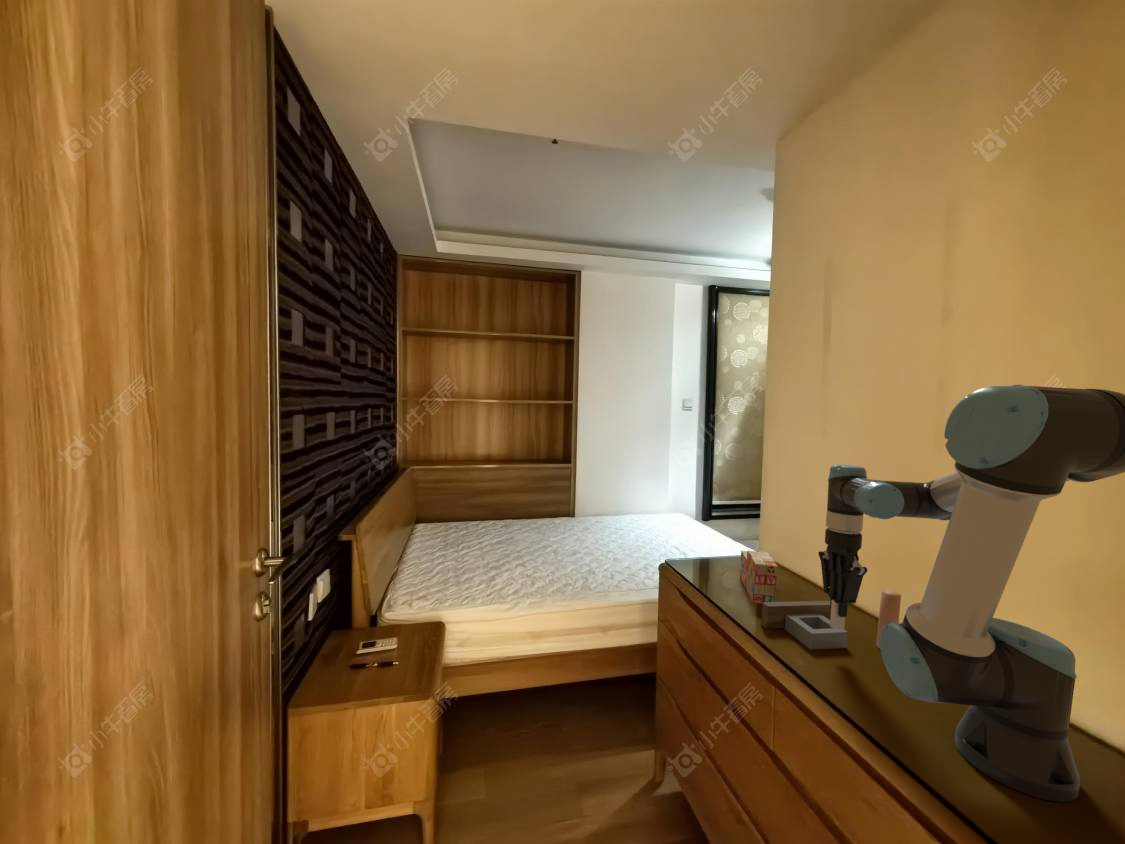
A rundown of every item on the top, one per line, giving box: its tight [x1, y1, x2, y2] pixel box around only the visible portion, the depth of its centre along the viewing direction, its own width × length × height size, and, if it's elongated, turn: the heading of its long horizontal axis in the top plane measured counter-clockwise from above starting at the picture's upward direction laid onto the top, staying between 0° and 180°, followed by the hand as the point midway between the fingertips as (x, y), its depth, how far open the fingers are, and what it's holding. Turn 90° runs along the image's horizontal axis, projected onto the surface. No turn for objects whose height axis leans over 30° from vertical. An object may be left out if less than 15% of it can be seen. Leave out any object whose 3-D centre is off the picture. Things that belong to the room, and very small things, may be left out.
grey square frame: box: [784, 613, 849, 651], centre depth 120 cm, size 10×10×4 cm
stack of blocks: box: [739, 550, 779, 605], centre depth 149 cm, size 21×6×12 cm, turn 169°
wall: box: [760, 600, 831, 629], centre depth 126 cm, size 2×20×6 cm, turn 99°
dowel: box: [875, 589, 902, 650], centre depth 116 cm, size 4×4×14 cm
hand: (837, 627), depth 112 cm, fingers closed
